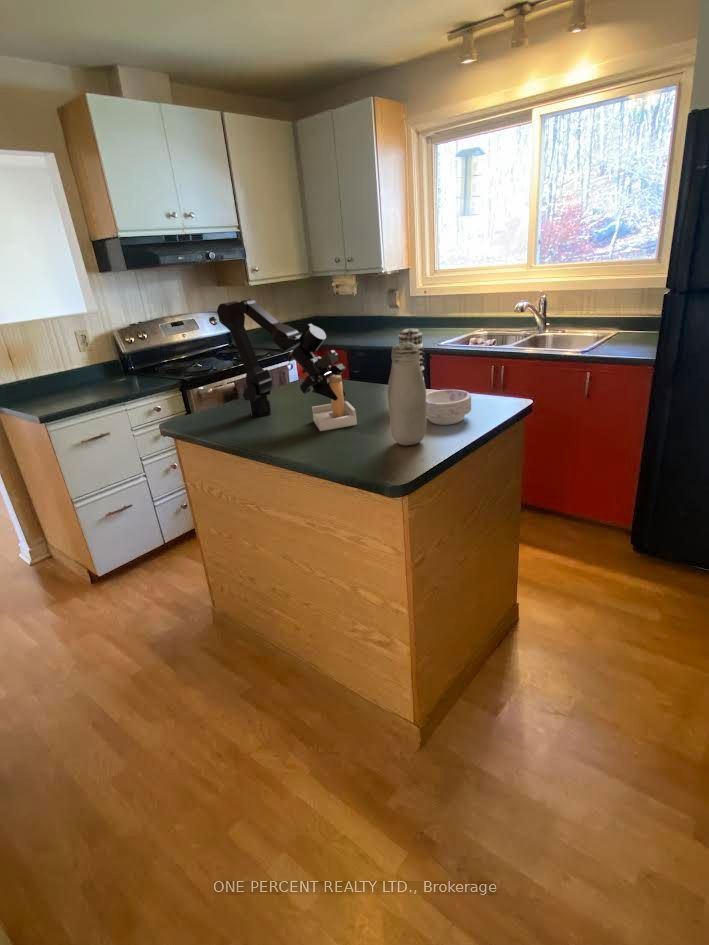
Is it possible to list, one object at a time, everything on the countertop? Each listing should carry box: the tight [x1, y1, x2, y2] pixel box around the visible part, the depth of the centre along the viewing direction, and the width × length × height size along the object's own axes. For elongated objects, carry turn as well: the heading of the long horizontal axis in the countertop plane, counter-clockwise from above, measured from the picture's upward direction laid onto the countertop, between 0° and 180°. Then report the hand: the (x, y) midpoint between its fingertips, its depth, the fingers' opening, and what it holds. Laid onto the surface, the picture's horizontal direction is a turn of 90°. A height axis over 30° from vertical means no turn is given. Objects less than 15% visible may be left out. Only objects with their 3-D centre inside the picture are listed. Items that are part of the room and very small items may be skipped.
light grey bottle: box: [387, 342, 427, 446], centre depth 139 cm, size 10×10×28 cm
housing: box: [311, 400, 358, 432], centre depth 167 cm, size 12×11×5 cm
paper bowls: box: [426, 389, 472, 426], centre depth 158 cm, size 15×15×8 cm
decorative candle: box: [398, 327, 426, 384], centre depth 175 cm, size 9×9×25 cm
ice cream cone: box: [329, 374, 345, 418], centre depth 164 cm, size 4×4×14 cm
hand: (340, 397), depth 163 cm, fingers closed on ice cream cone, 4 cm apart
